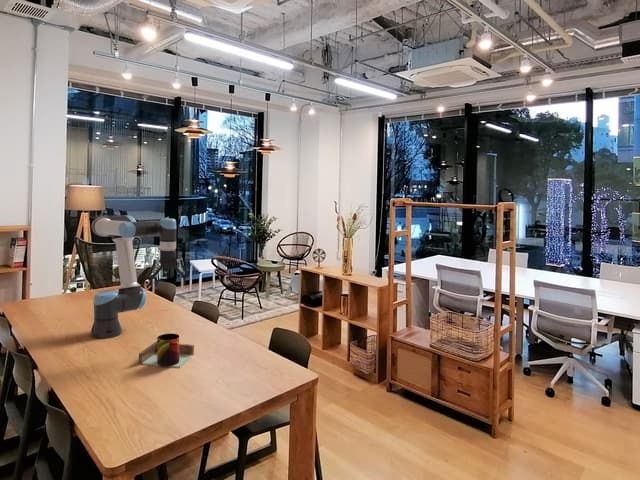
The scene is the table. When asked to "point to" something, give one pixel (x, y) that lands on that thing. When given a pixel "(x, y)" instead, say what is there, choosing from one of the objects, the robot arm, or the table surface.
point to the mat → (182, 360)
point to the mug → (168, 349)
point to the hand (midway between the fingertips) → (168, 291)
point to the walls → (153, 349)
